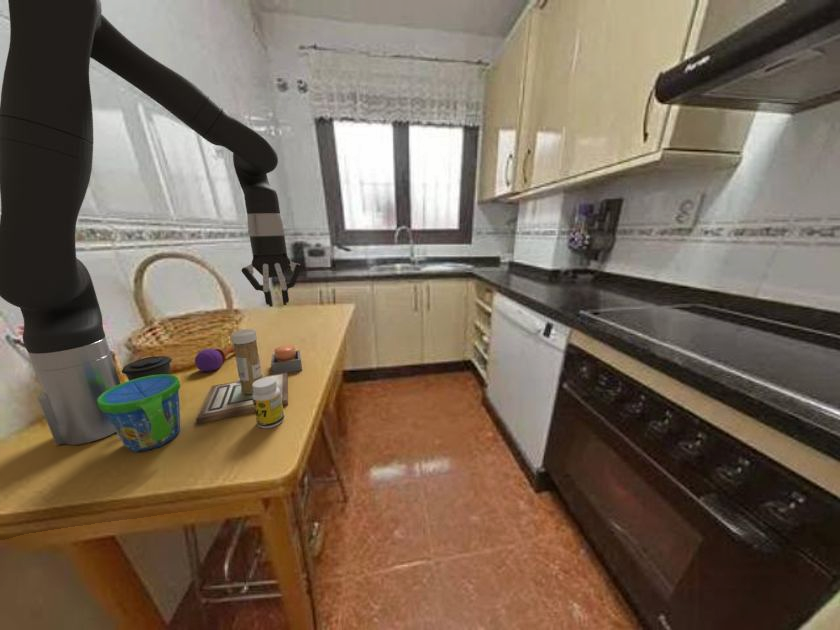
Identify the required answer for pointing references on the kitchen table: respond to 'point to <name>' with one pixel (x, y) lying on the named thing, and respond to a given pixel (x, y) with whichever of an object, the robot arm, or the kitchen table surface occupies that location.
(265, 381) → the supplement bottle
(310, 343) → the kitchen table surface
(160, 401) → the snack cup
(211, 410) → the colouring board
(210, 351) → the kendama
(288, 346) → the button
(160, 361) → the coffee cup
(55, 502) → the kitchen table surface
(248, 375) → the spice bottle
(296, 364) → the button collar
